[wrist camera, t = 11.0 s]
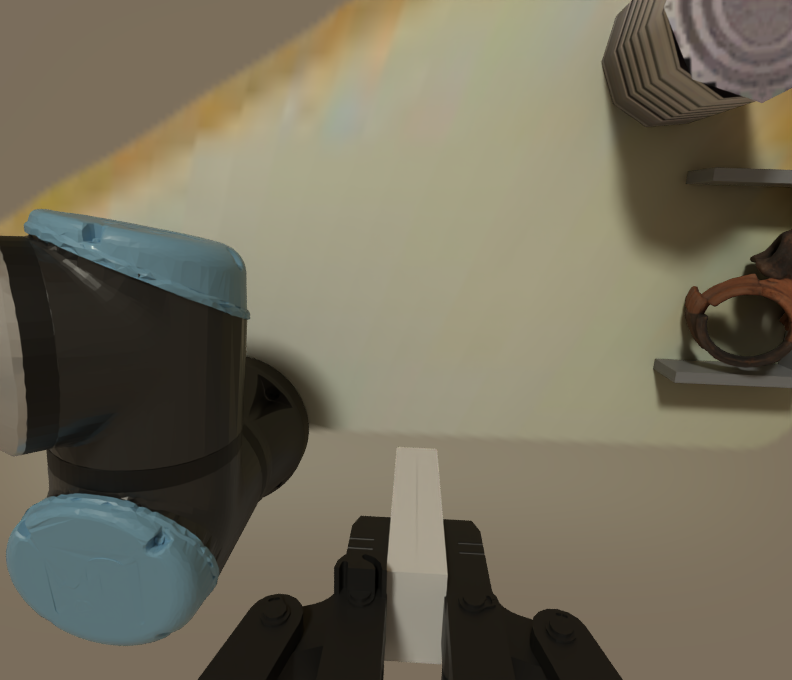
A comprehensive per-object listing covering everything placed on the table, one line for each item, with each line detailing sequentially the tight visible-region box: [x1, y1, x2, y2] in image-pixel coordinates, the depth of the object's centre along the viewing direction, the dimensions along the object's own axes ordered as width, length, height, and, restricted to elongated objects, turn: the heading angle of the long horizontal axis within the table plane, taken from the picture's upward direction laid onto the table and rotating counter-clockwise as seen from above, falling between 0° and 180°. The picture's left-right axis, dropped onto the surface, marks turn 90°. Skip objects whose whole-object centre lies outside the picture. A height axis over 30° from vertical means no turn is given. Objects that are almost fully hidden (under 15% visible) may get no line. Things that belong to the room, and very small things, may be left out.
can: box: [602, 0, 792, 127], centre depth 35 cm, size 11×11×12 cm
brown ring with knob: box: [685, 229, 792, 368], centre depth 43 cm, size 12×10×8 cm
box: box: [653, 168, 792, 388], centre depth 43 cm, size 12×18×4 cm
